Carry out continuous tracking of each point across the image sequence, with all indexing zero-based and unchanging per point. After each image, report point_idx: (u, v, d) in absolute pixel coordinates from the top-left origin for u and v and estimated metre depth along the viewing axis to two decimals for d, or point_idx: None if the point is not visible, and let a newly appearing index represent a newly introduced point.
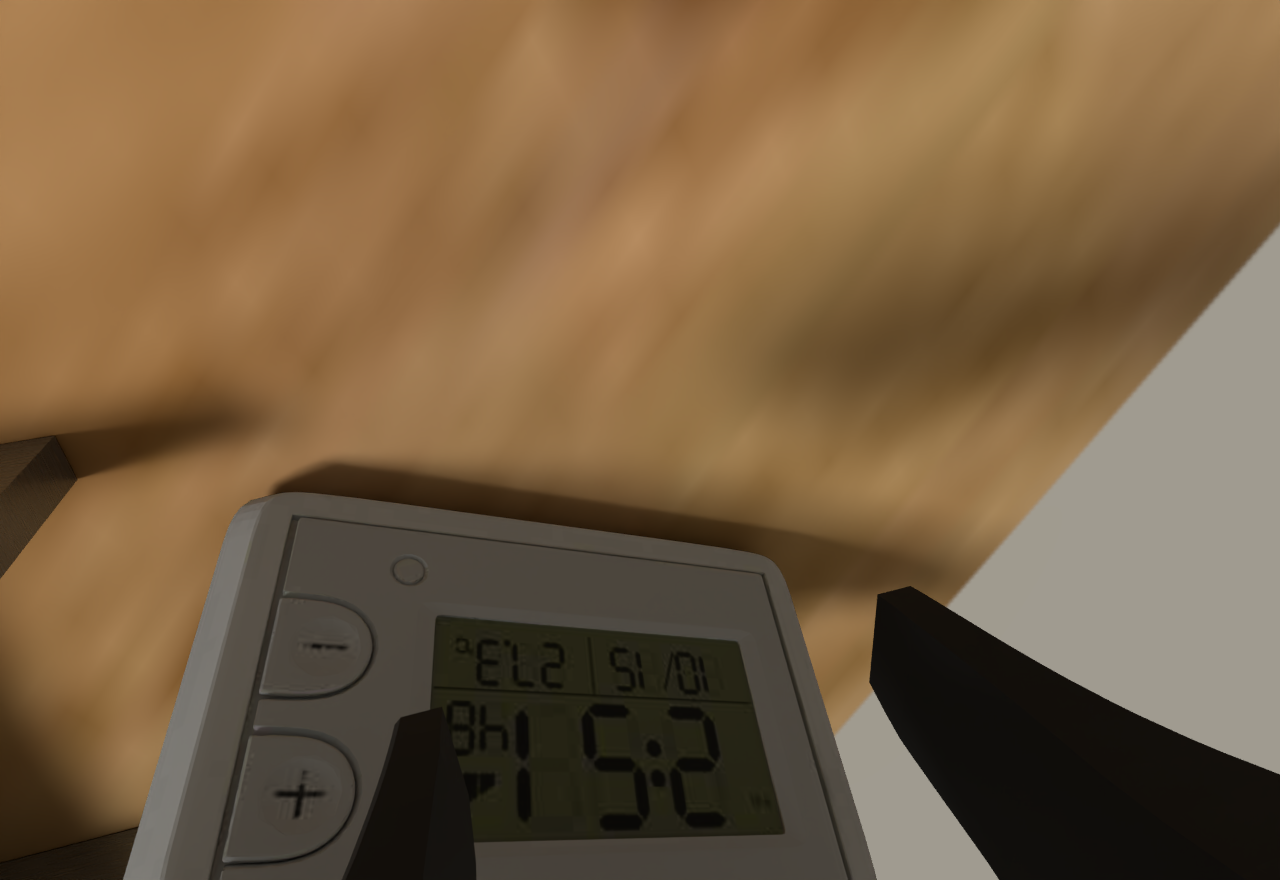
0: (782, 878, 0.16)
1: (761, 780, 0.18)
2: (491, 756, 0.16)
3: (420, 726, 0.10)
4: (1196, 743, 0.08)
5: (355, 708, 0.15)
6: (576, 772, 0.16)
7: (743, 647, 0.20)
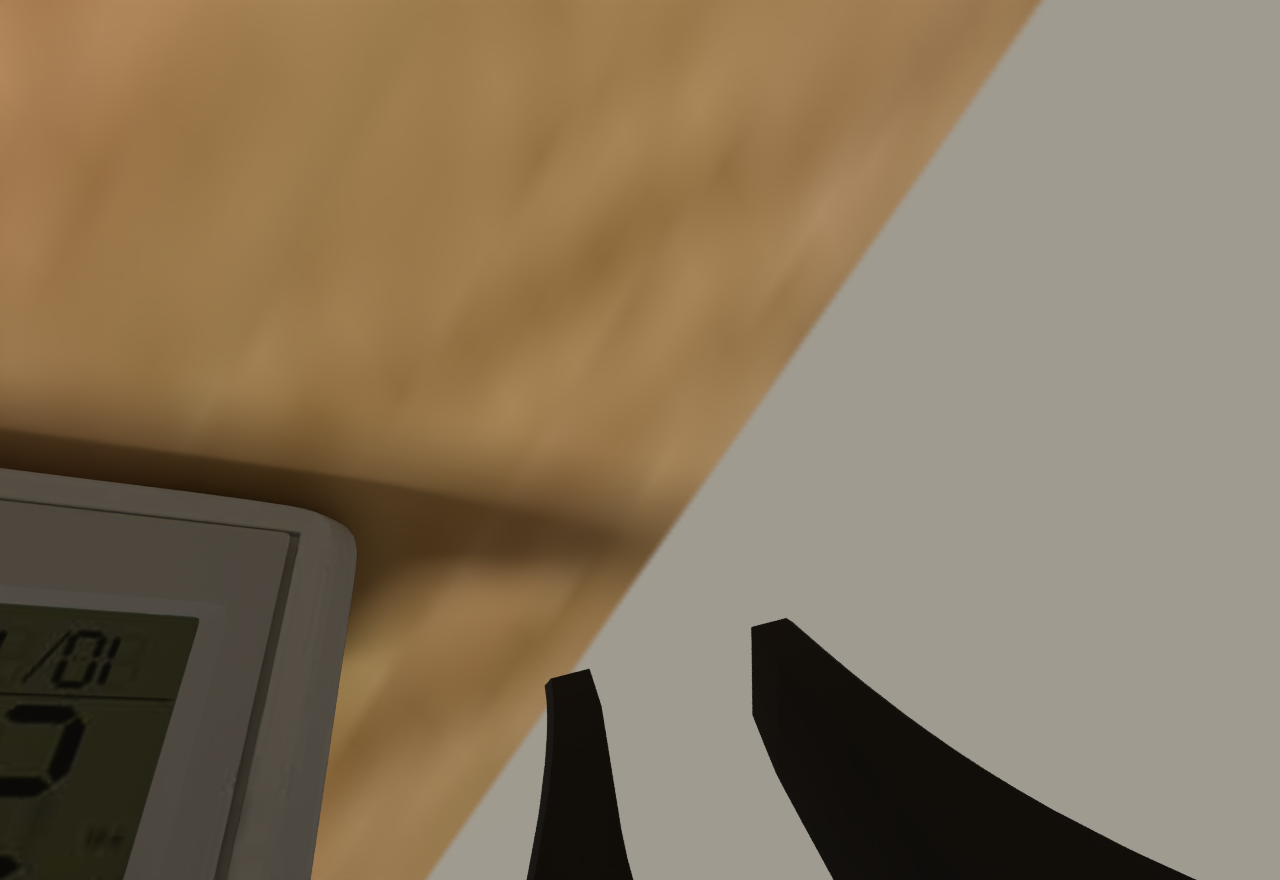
0: None
1: (125, 809, 0.13)
2: None
3: (574, 687, 0.11)
4: (1027, 798, 0.08)
5: None
6: None
7: (202, 625, 0.15)
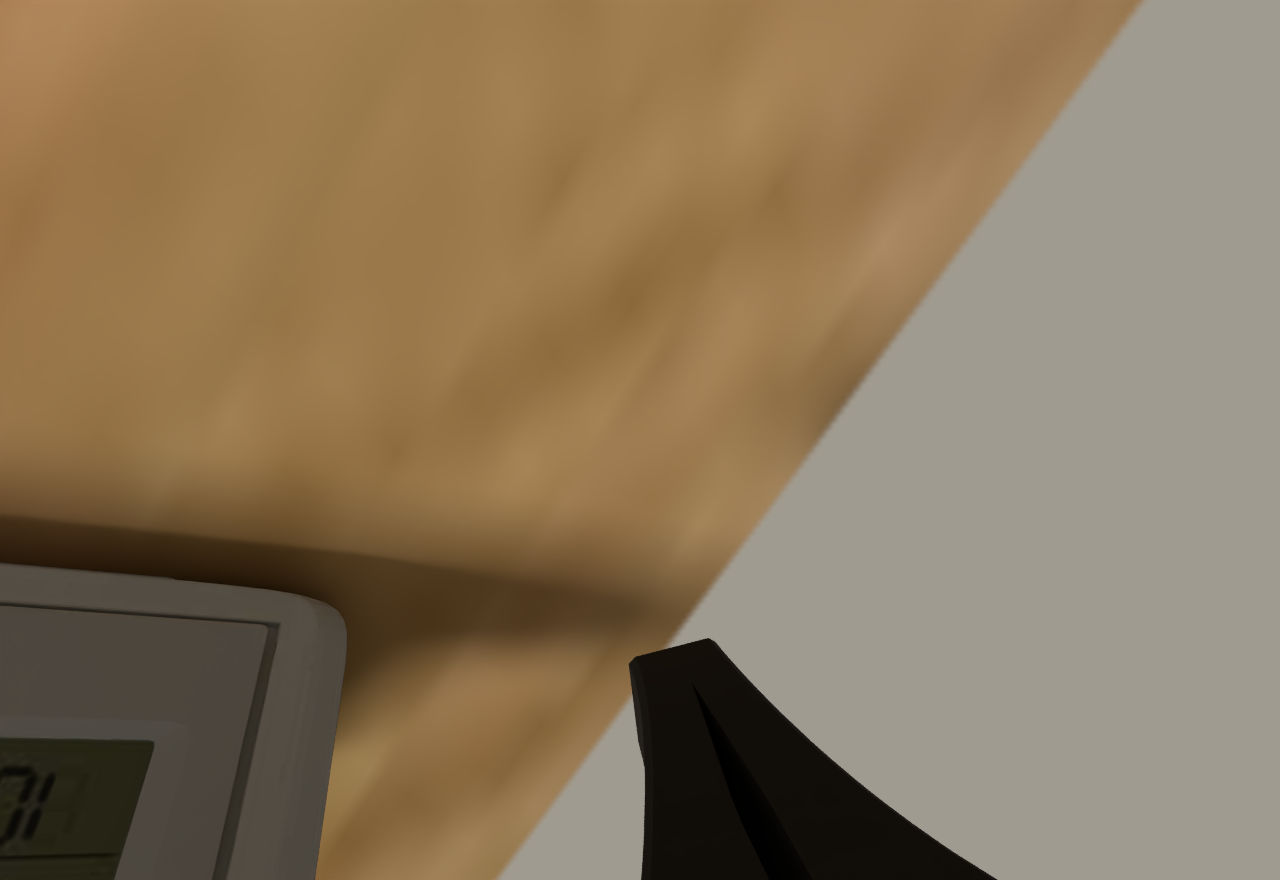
0: None
1: None
2: None
3: (660, 664, 0.11)
4: (918, 834, 0.08)
5: None
6: None
7: (158, 751, 0.13)
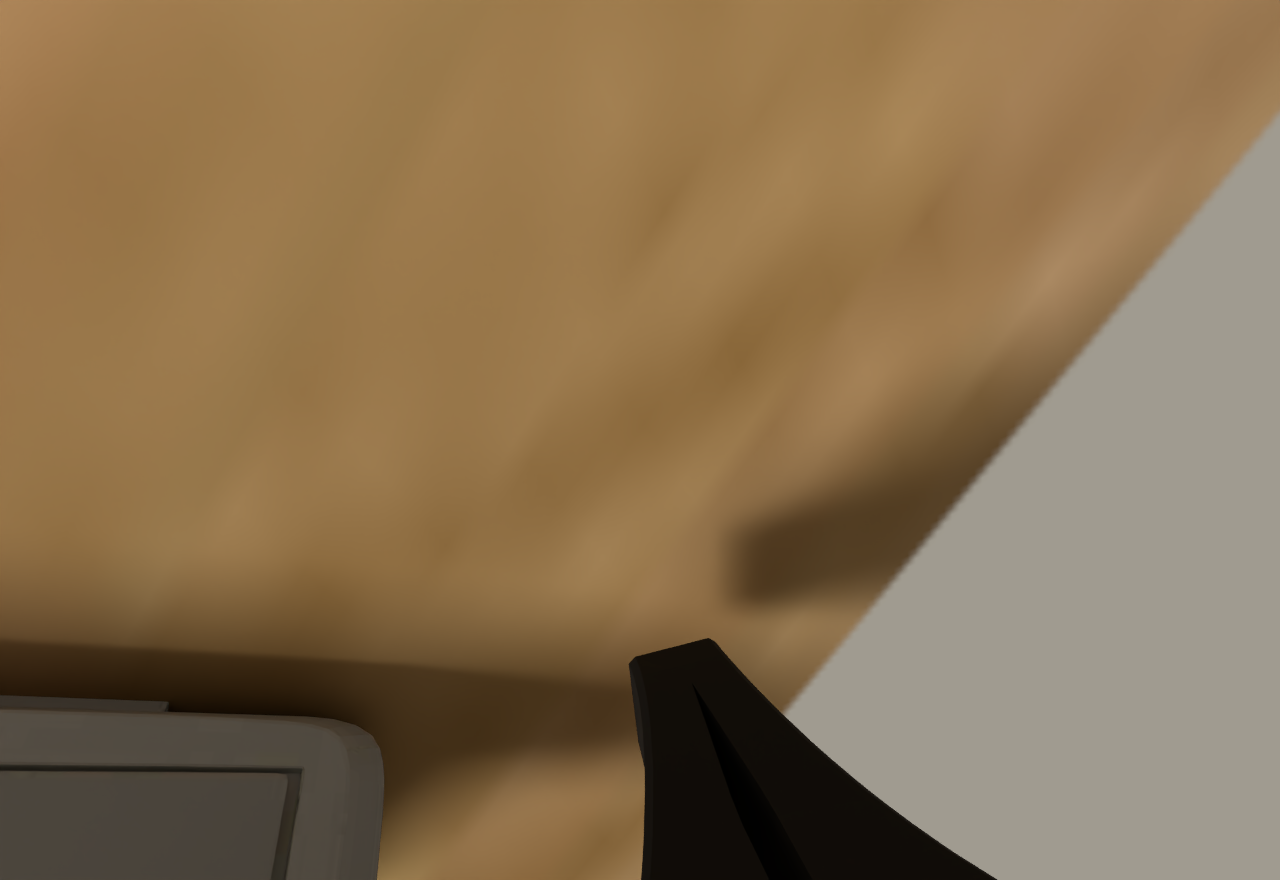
0: None
1: None
2: None
3: (660, 664, 0.11)
4: (918, 834, 0.08)
5: None
6: None
7: None
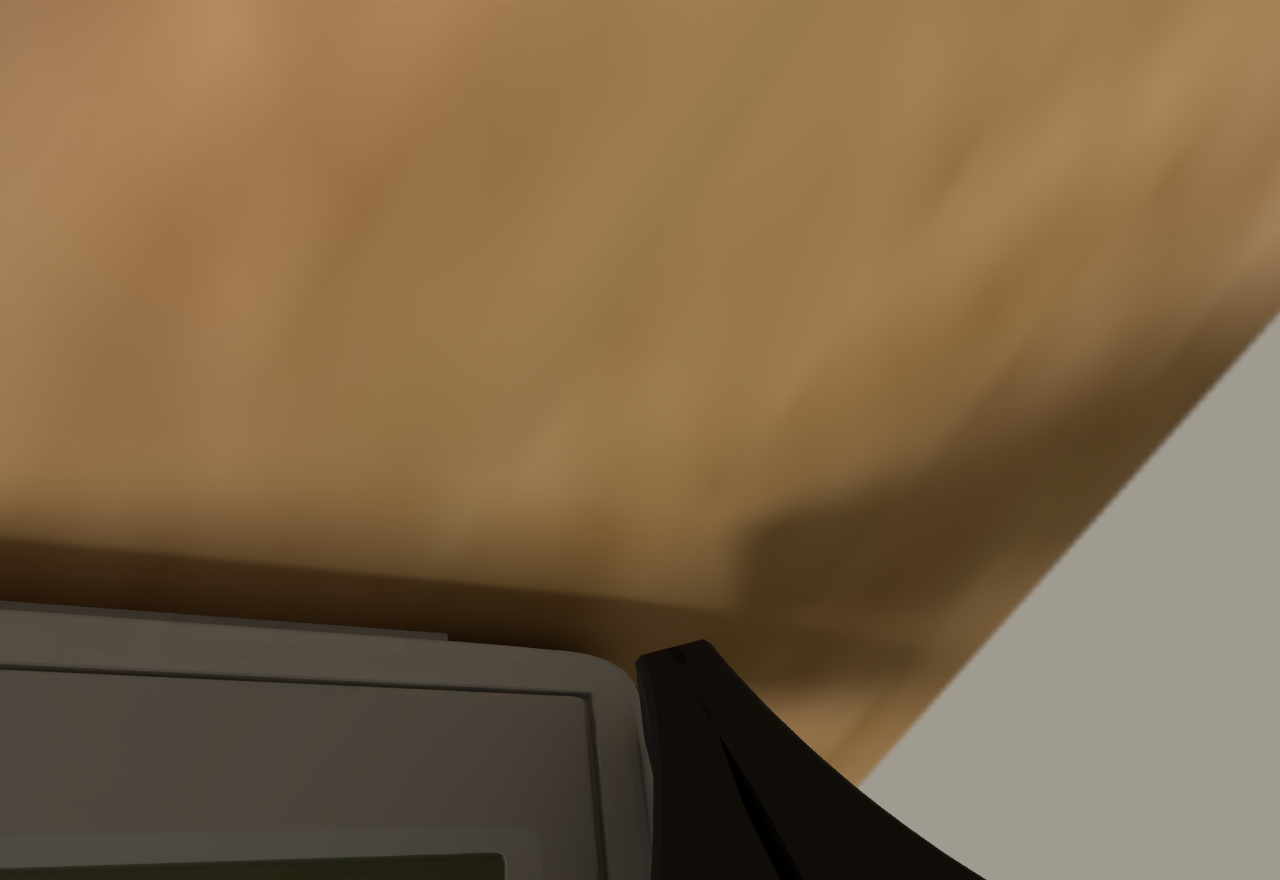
0: None
1: None
2: None
3: (667, 662, 0.11)
4: (911, 836, 0.08)
5: None
6: None
7: (511, 868, 0.10)
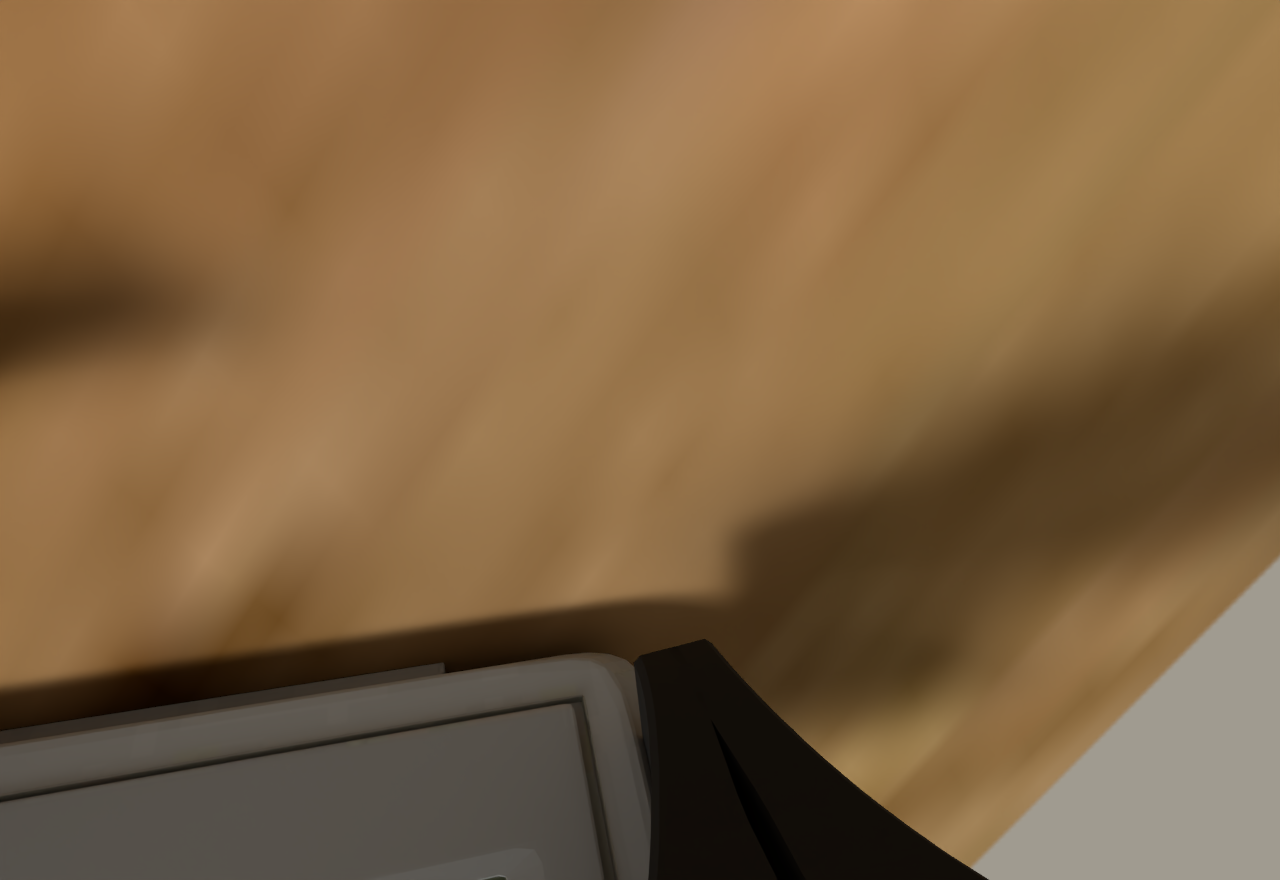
0: None
1: None
2: None
3: (666, 663, 0.11)
4: (913, 835, 0.08)
5: None
6: None
7: None
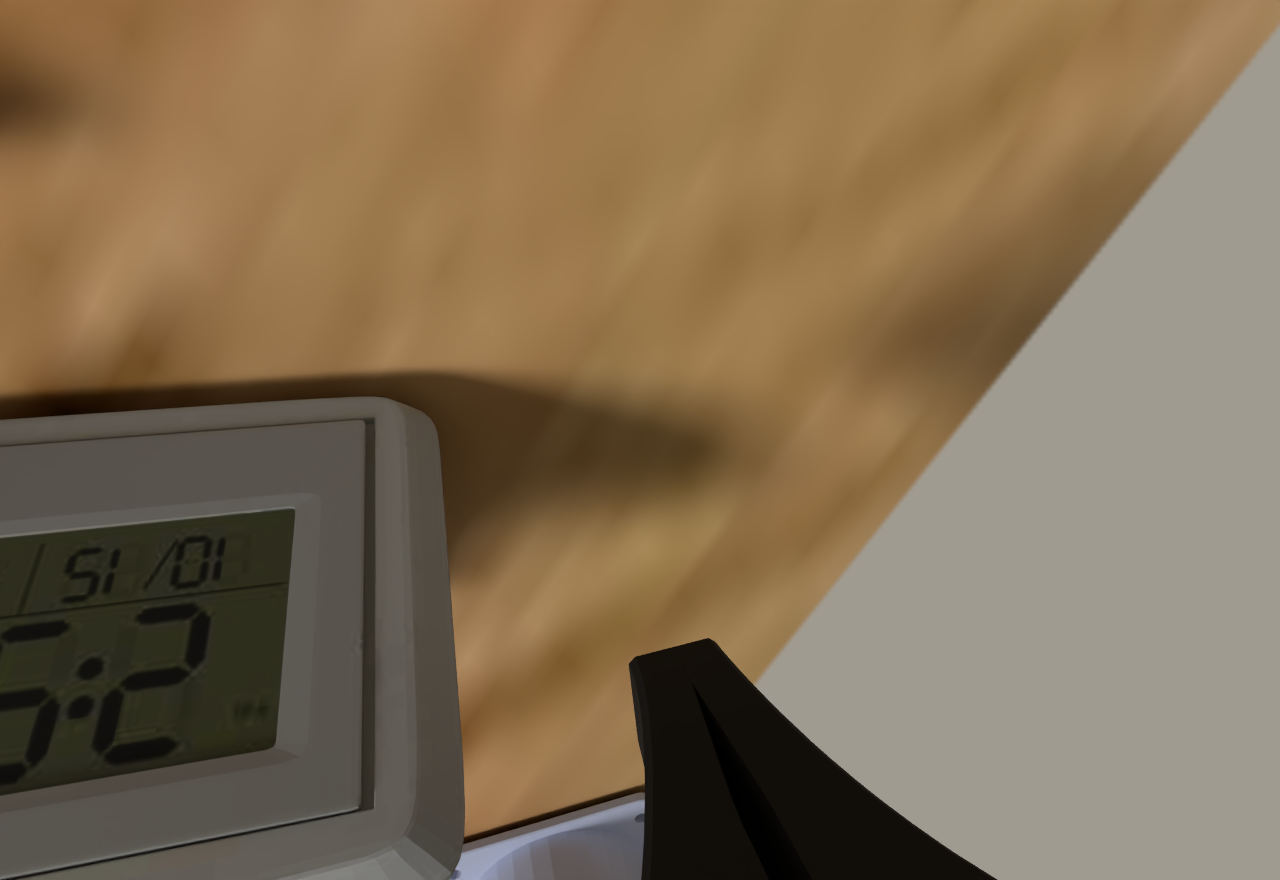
0: (239, 811, 0.11)
1: (264, 681, 0.13)
2: None
3: (660, 664, 0.11)
4: (918, 834, 0.08)
5: None
6: None
7: (299, 513, 0.15)
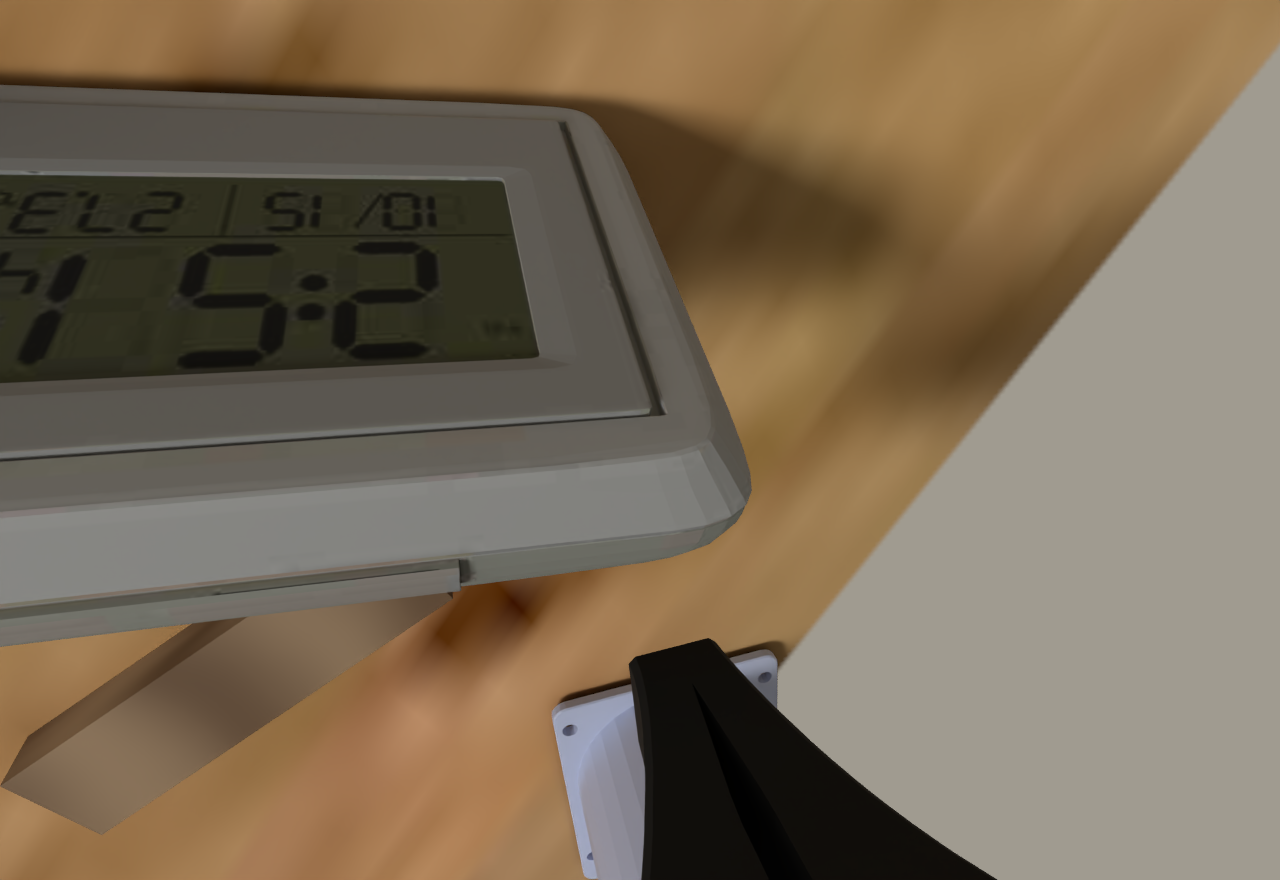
0: (518, 402, 0.10)
1: (510, 308, 0.11)
2: None
3: (660, 664, 0.11)
4: (918, 834, 0.08)
5: None
6: (154, 311, 0.10)
7: (509, 183, 0.13)
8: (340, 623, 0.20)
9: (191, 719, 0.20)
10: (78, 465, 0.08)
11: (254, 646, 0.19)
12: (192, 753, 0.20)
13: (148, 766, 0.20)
